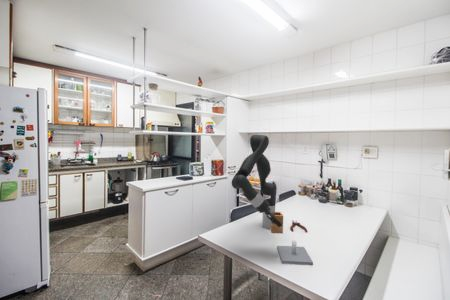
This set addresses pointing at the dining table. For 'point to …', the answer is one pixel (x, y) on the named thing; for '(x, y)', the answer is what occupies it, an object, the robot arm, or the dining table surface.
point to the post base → (294, 255)
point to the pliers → (297, 225)
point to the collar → (273, 226)
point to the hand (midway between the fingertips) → (279, 223)
